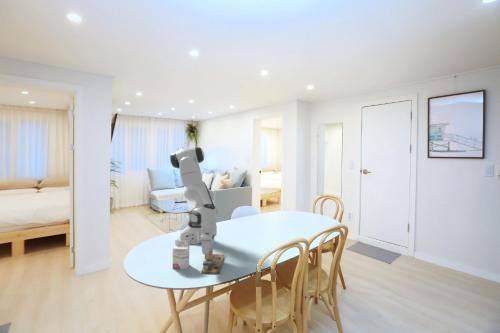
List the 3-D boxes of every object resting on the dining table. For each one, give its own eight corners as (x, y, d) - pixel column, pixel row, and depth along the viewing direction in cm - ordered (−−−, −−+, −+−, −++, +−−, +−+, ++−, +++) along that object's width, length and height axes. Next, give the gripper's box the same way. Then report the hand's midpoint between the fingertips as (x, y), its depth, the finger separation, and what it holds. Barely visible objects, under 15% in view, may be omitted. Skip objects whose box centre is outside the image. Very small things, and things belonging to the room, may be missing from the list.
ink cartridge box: (172, 268, 138) (172, 243, 137) (174, 264, 143) (174, 239, 142) (187, 268, 138) (187, 243, 137) (189, 264, 143) (189, 240, 142)
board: (201, 273, 134) (201, 265, 133) (208, 255, 156) (208, 249, 155) (219, 273, 134) (219, 266, 133) (224, 256, 156) (224, 249, 155)
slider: (204, 262, 143) (204, 251, 143) (205, 259, 147) (206, 248, 147) (218, 262, 143) (218, 251, 142) (218, 259, 147) (219, 248, 146)
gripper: (206, 226, 154) (206, 247, 155) (200, 238, 134) (199, 263, 135) (216, 226, 154) (216, 248, 155) (211, 238, 134) (211, 263, 135)
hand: (208, 255), depth 145 cm, fingers closed on slider, 4 cm apart
